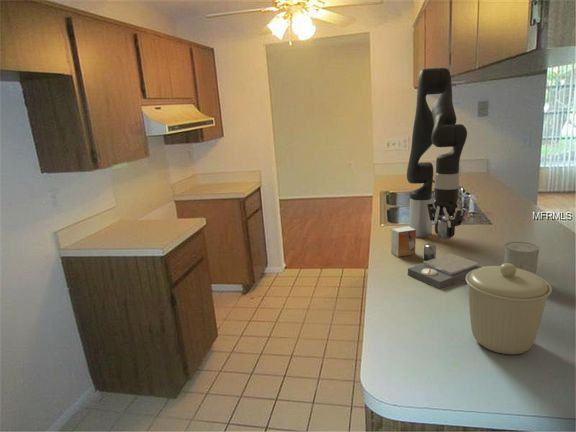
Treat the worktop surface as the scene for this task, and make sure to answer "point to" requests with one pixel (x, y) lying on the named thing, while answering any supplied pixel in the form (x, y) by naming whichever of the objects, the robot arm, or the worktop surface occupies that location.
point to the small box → (403, 241)
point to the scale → (437, 275)
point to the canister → (506, 307)
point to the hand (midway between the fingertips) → (444, 235)
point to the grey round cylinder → (522, 255)
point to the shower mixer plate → (450, 264)
